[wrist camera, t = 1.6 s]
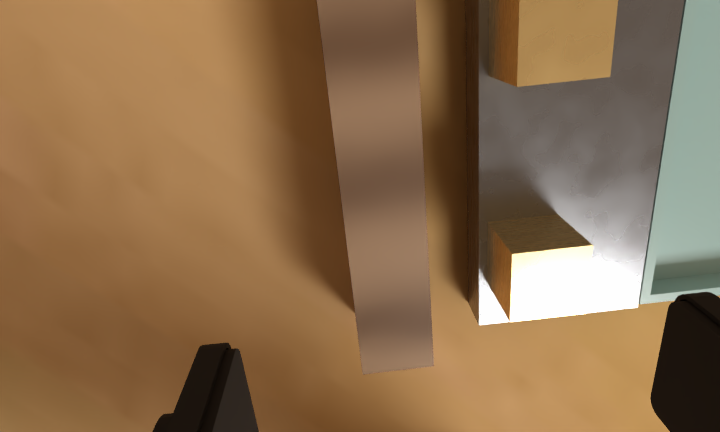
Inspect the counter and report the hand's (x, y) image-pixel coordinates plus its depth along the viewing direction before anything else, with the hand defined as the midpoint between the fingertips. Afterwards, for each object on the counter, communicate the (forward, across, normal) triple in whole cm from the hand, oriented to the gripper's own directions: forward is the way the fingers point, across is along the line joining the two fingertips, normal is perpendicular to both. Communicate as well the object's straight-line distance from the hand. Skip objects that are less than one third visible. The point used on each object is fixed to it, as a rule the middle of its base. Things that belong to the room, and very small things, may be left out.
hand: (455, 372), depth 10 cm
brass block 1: (+16, -8, -6) cm, 19 cm away
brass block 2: (+16, -8, +6) cm, 19 cm away
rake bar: (+19, 0, 0) cm, 19 cm away
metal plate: (+19, -10, 0) cm, 21 cm away
